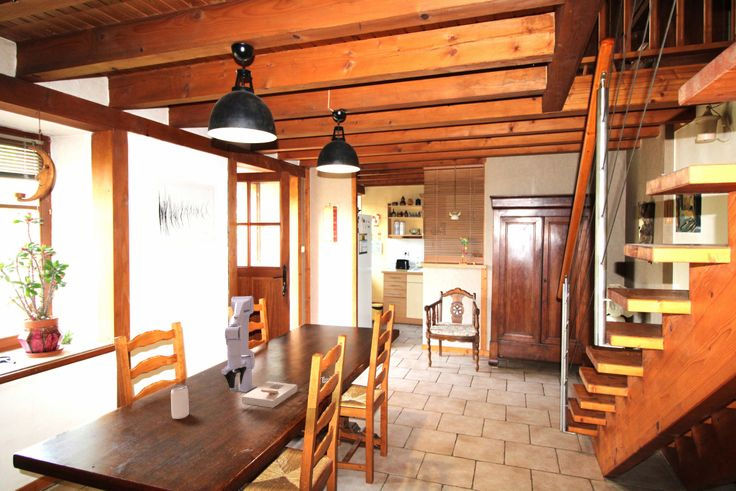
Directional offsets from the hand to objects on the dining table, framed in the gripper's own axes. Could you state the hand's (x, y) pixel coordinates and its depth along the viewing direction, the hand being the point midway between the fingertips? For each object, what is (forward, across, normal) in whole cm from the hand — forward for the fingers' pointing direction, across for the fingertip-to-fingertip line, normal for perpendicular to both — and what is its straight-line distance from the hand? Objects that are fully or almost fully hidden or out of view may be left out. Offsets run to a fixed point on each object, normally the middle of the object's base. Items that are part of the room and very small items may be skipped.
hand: (235, 385), depth 186 cm
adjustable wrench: (+10, +32, -24) cm, 41 cm away
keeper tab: (+5, +9, -11) cm, 15 cm away
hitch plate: (+9, +14, -8) cm, 18 cm away
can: (+9, -15, +16) cm, 24 cm away
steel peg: (+2, 0, 0) cm, 2 cm away
